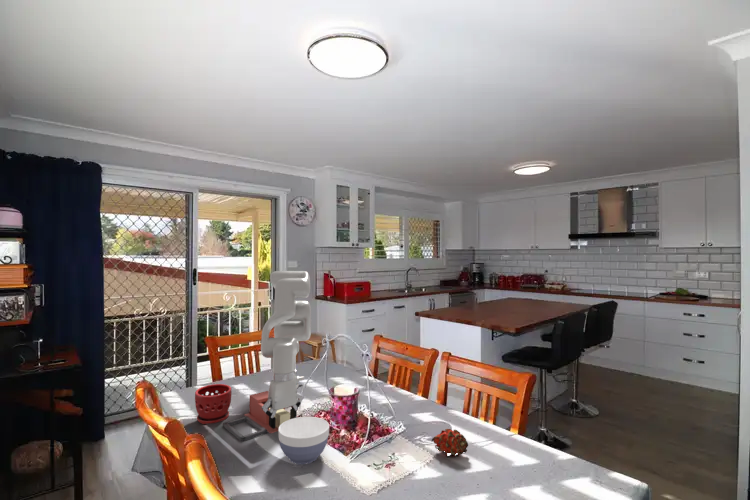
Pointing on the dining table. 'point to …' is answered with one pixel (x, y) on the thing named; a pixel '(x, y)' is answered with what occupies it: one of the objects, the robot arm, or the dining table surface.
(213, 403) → the plant pot
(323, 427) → the bowl
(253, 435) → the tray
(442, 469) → the dining table surface
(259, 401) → the dispenser
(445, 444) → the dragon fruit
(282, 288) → the robot arm
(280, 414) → the cream chunky block
